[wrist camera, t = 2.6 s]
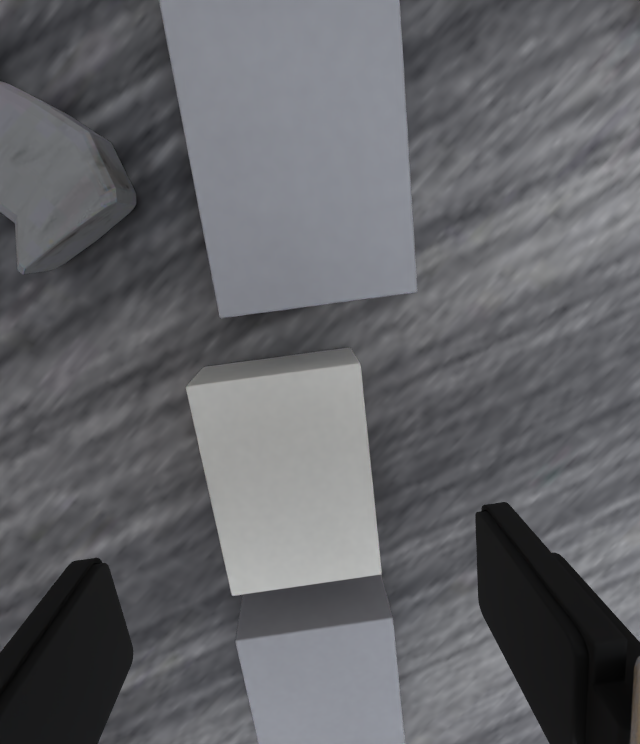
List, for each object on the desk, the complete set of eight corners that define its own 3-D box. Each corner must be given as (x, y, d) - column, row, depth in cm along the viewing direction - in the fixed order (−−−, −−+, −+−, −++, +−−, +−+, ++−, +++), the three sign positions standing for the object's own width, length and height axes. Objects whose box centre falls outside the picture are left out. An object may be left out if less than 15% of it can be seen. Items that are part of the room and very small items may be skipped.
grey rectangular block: (242, 589, 18) (234, 641, 15) (380, 570, 18) (393, 617, 15) (274, 740, 20) (271, 805, 18) (396, 721, 20) (409, 784, 18)
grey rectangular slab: (177, 8, 12) (147, -54, 10) (376, -16, 12) (395, -82, 10) (232, 309, 15) (219, 318, 12) (398, 286, 15) (418, 292, 12)
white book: (202, 366, 15) (184, 386, 13) (350, 346, 15) (360, 362, 13) (240, 550, 17) (231, 596, 15) (370, 531, 17) (382, 575, 15)
